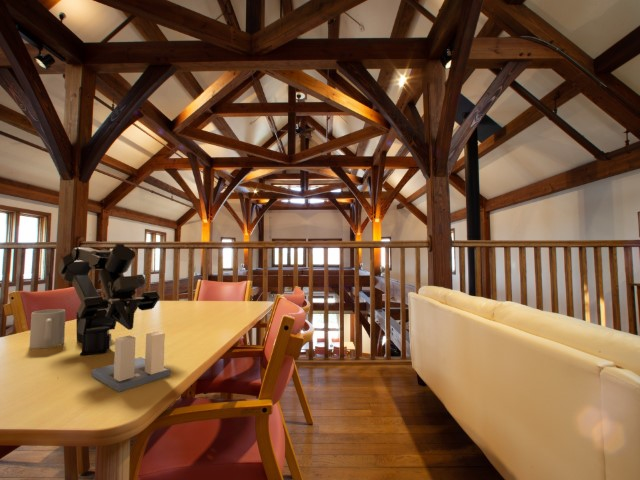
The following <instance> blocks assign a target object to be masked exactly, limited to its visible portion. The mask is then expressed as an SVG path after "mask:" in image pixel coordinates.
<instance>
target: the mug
mask: <svg viewBox="0 0 640 480" xmlns="http://www.w3.org/2000/svg"><path fill="white" fill-rule="evenodd" d="M30 315H31V316H30V333H29V349H32V348H33V350H38V349H39V350H40V348H43V349H48V348H49V347H50V348H55V347H58V346H61V345H63V344H64V343H65V339H66V338H65V336H66V335H65V331H66V329H65V328H66V310H65V309H64V308H51V309H42V310H35V311H33V312H31V314H30ZM54 346H55V347H54Z"/></svg>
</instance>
